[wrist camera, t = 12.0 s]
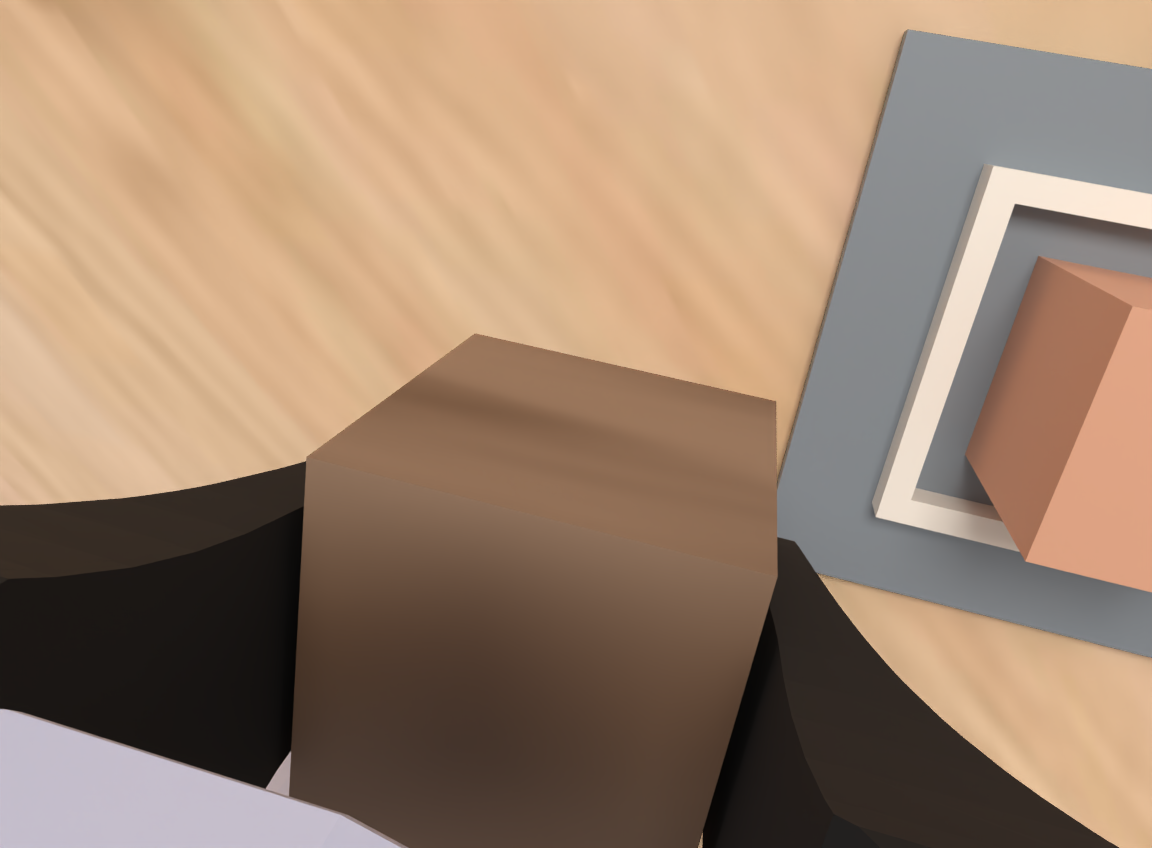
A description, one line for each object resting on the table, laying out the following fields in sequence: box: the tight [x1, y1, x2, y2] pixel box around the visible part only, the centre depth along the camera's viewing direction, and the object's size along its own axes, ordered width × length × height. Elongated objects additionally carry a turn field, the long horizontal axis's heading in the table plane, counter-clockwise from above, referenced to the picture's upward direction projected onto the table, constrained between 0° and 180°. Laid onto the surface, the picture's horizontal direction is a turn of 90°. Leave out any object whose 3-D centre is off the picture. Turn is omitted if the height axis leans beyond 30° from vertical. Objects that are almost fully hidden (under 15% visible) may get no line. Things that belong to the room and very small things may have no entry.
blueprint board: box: [777, 30, 1152, 658], centre depth 18 cm, size 12×12×1 cm
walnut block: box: [289, 334, 778, 848], centre depth 11 cm, size 4×4×5 cm
